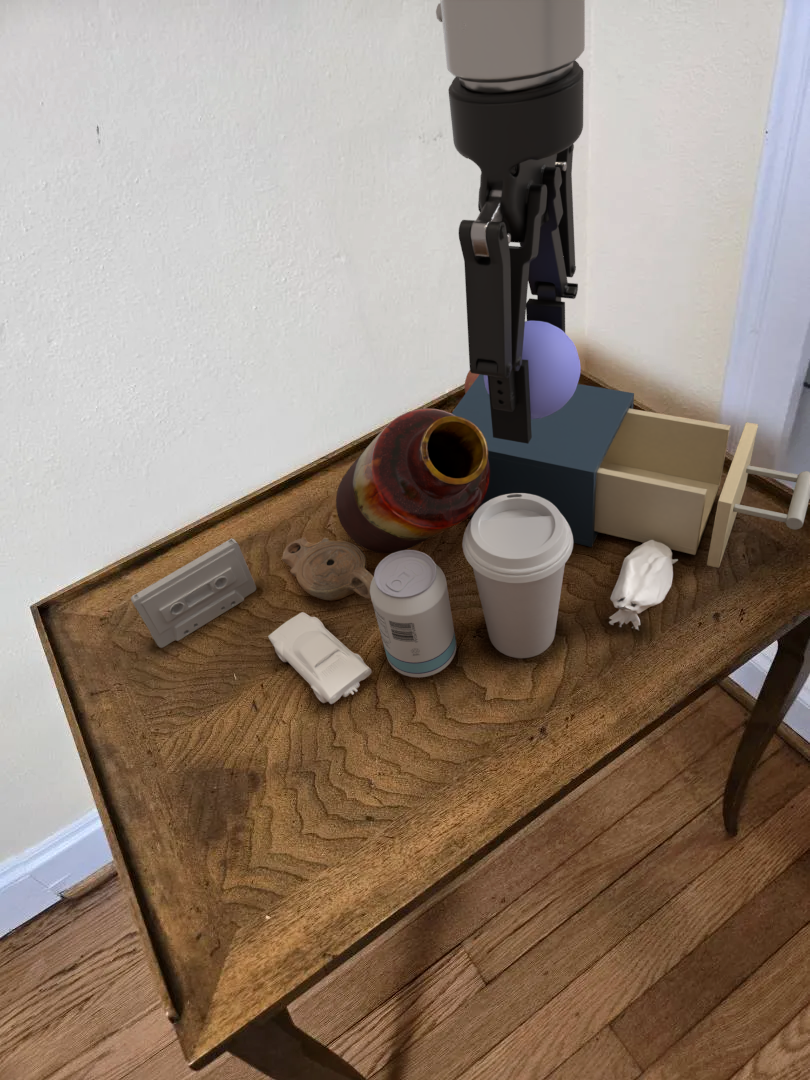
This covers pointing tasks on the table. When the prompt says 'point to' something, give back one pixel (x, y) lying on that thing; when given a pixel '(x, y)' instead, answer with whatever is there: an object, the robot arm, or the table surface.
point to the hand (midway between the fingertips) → (530, 406)
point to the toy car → (319, 657)
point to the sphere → (548, 367)
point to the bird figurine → (642, 581)
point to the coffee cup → (519, 569)
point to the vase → (414, 481)
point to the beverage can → (413, 613)
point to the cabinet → (553, 451)
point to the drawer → (681, 483)
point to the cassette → (195, 593)
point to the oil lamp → (328, 568)
